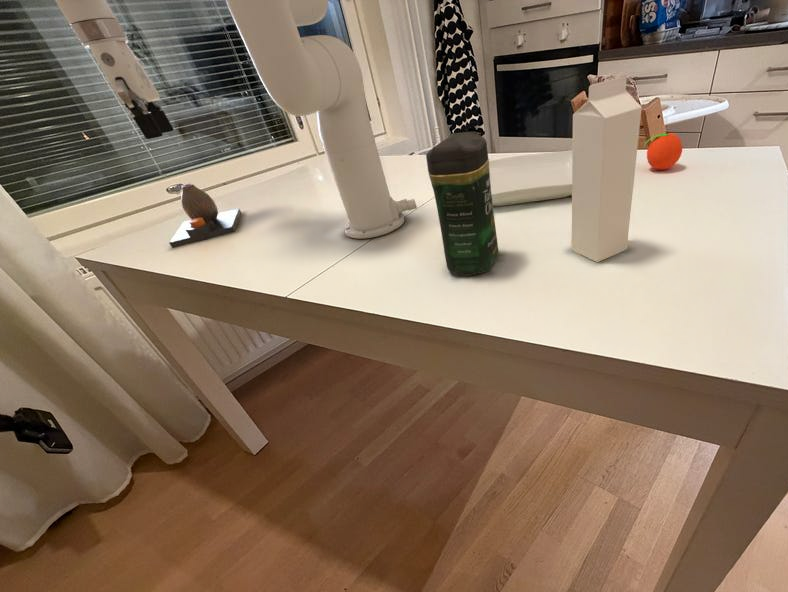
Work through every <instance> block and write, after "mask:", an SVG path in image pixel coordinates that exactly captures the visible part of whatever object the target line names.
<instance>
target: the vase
mask: <svg viewBox="0 0 788 592" xmlns="http://www.w3.org/2000/svg"><path fill="white" fill-rule="evenodd" d="M180 201H181V206H182V208H183V211H184V213H185V214H186V215H187V217H188V218H189V219H190V220H193V219H195V218H203V219H204V220H212V221H215V220H216V219H217V216H218V213H219V209H218V207H217V204H216V202H215V200H214V199H213V198H212V197H211V196H210V195H209V194H208V193H207V192H205V191H204V190H202V189H200V188H198V187H197V186H195V185H194V184H193V183H187V184H184V185H182V186H181V198H180Z"/></svg>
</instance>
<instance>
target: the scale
mask: <svg viewBox="0 0 788 592" xmlns="http://www.w3.org/2000/svg"><path fill="white" fill-rule="evenodd" d="M242 213H243V212H242V210H241V209H240V207H239V208H234V209H230V210H226V211H222V212H218V216H217V219H216V220H215V221H212V220H204V221H205V223H206V224H205V225H203V226H200V227H196V228H192V226H191V225H190V223H189V221H191V220H192V219H190V220H185V221H183V222H182V223H181V225H180V226H179V228H178V229H177V231H176V232H175V234H174V235H173V236H172V238H171V239H170V240H169V242H168V244H169V246H170V247H171V248H172V249H176V248H179V247H182V246H187V245H191V244H194V243H195V244H196V243H198V242H202V241H207V240H211V239H213V238H218V237H221V236H226V235H229V234H233V233H236V231H237V228H238V225H239V222H240V219H241V216H242Z"/></svg>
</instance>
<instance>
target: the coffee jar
mask: <svg viewBox="0 0 788 592" xmlns="http://www.w3.org/2000/svg"><path fill="white" fill-rule="evenodd" d="M488 152H489V151H488V143H487V140H486V138H485V137H483V136H482V135H480V134H479V133H478V132H477V131H465V132H464V131H463V132H454V133H450V134H449V135H448V136H447V137H446V138H445V139H443V140H441V142H439V143H437V145H435V146H433V147H432V148H431V149H430V150H428V151H427V152H426V154H425V158H426V165H427V172H428V177H429V180H430V183H431V187H432V191H433V195H434V200H435V204H436V205H435V206H436V210H437V215H438V221H439V227H440V228H439V229H440V232H441V239H442V246H443V254H444V259H445V263H446V268H447V270H448V271H449V272H450V273H452V274H456V275H460V276H473V275H477V274H482V273H486V272H488V271H490V269H492V267H493V266H494V264H495V263H496V261H497V258H498V256H499V244H498V236H497V229H496V222H495V221H496V220H495V212H494V206H493V203H492V194H491V185H490V172H489V161H490V159H489V158H490V157H489V153H488Z"/></svg>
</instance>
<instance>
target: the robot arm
mask: <svg viewBox="0 0 788 592" xmlns="http://www.w3.org/2000/svg"><path fill="white" fill-rule="evenodd" d="M54 1H55V3H56V5H57V6H58V8H59V10H60V11H61V13H62V14H63V16H64V17H65V18H66V21H67V22H68V24H69V25H70V27H71V29H72V30H73V32H74V33H75V35H76V37H77V38H78V40H79V41H80V43H81V45H82V46H83V48H84V49H90V51H91V53H92V55H93V57H94V59H95V60H96V62H97V64H98V66H99V68H100V69H101V71H102V73H103V74H104V76H105V78H106V80H107V81H108V83H109V84H110V86H111V88H112V90H113V91H114V92H115V94H116V95H117V97H118V98H119V100H120V101H121V102H122V103H123V105H124V106H125V108H126V109H127V110H128V112H129V114H130V117H132V119H133V120H134V122H135V124H136V125H137V127H138V128H139V130H140V131H141V133H142V135H143V136H144V138H145V139H146V140H153V139H156V138H160V137H163V134H165V133H170V132H173V131H174V130H175V129H174V127H173V124H172V123H171V122H170V120H169V118H168V116H167V114H166V113H165V111H164V110H163V108H162V106H161V105H160V103H159V102H158V101H159V100H160V93H159V91H158V90H157V89H156V87H155V86H154V84H153V82H152V80H151V79H150V77H149V76H148V74H147V73H146V70H145V69H144V67H143V66H142V64H141V63H140V61H139V59H138V58H137V56H136V55H135V53H134V52H133V51H132V49H131V48H130V46H129V45H128V42H129V41H130V40H129V38H128V37H127V35H126V33H125V32H124V30H123V27H122V26H121V25H120V22H118V21H119V20H118V19H117V18H116V16H115V13H113V11H112V9H111V7H110V5H109V3H108V1H107V0H54ZM225 3H226V5H227V8H228V10H229V12H230V15H231V17H232V19H233V22H234V24H235V26H236V28H237V30H238V32H239V35H240V37H241V39H242V42H243V43H244V46H245V48H246V50H247V53H248V56H249V57H250V60H251V61H252V64H253V66H254V68H255V70H256V72H257V75H258V76H259V80H260V81H261V83H262V85H263V87H264V89H265V90H266V92H267V93H268V96H269V97H270V99H271V100H272V101H273V102H274V103H275V104H276V105H277V106H278V107H279V109H281V110H282V111H284V112H286V113H287V114H289V115H291V116H295V117H303V116H304V117H305V116H310V115H313V114H316V116H317V130H318V134H319V135H318V136H319V139H320V142H321V146H322V148H323V152H324V154H325V157H326V160H327V163H328V165H329V168H330V171H331V174H332V176H333V179H334V182H335V185H336V187H337V190H338V193H339V196H340V199H341V202H342V205H343V207H344V210H345V213H346V216H347V218H348V223H346V224H345V226H344V233H345V235H346V236H347V237H349V238H351V239H357V240H358V239H359V240H361V239H362V240H363V239H372V238H376V237H380V236H381V237H382V236H384V235H387V234H389V233H392V232H394V231H396V230H397V229H399V228H400V227H401V226H402V225H403V224H404V222H405V217H404V214H403V213H404V212H406V211H412V210H417V208H418V207H417V203H416V200H415V198H412V199H409V200H408V199H407V198H404V199H400V200H397V201H396V200H394V199H393V198H392V196H391V194H390V190H389V187H388V183H387V180H386V176H385V172H384V169H383V164H382V162H381V158H380V155H379V151H378V147H377V144H376V139H375V136H374V132H373V127H372V124H371V121H370V116H369V112H368V111H369V110H368V105H367V100H366V91H365V84H364V78H363V73H362V69H361V65H360V62H359V61H358V58H357V56H356V54H355V53H354V51H353V50H352V49H351V47H350V46H348V44H347V43H345V42H344V41H342V40H341V39H339V38H337V37H335V36H331V35H327V34H319V35H309V36H308V35H307V36H301V35H300V32H299V30H298V27H305V26H310V25H314V24H316V23H319V22H321V21H322V20H323V19H324V18H325V16H326V14H327V11H328V6H329V0H225Z"/></svg>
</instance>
